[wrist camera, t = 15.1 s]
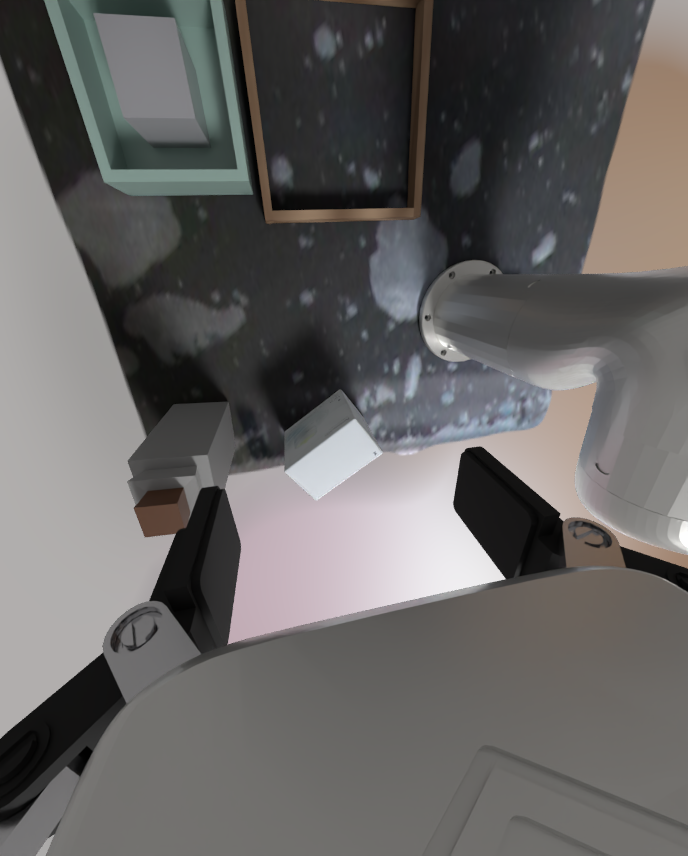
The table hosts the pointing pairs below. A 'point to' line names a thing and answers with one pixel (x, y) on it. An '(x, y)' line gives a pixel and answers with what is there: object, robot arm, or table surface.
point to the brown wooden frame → (417, 132)
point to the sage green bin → (117, 140)
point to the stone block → (154, 79)
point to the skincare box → (328, 446)
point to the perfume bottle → (180, 464)
